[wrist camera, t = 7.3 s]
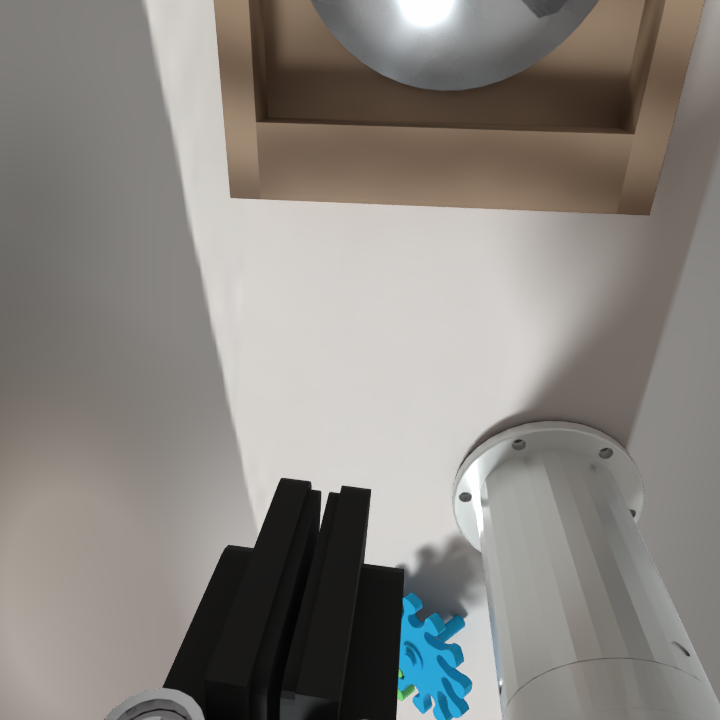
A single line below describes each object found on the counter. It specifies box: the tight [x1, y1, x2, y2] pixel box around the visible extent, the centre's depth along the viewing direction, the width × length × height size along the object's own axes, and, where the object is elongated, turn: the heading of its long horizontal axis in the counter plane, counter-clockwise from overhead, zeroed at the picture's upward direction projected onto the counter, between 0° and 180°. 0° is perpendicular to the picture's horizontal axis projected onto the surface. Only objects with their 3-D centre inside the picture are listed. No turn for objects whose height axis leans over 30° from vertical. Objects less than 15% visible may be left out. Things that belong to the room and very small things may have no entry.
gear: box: [397, 592, 472, 720], centre depth 45 cm, size 11×6×10 cm
